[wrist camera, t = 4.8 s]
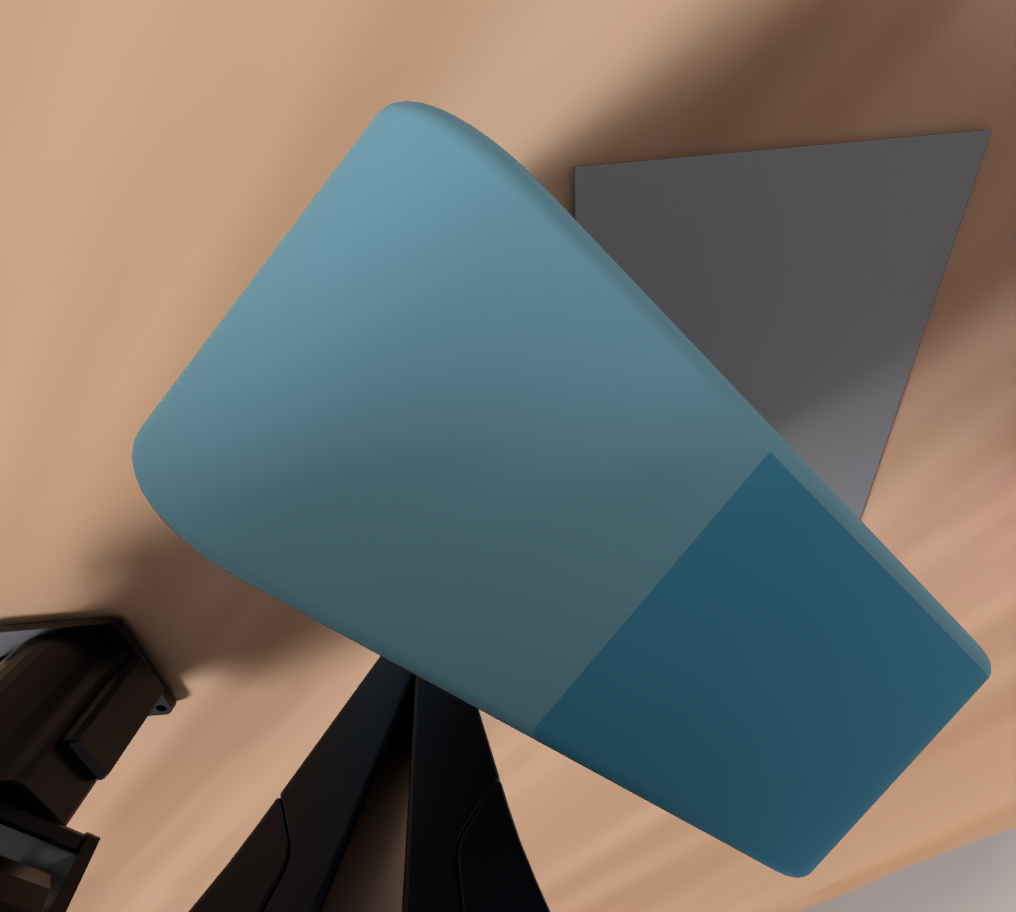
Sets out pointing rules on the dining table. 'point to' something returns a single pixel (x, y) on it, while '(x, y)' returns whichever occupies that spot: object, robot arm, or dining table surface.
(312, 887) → the robot arm
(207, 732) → the dining table surface
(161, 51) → the dining table surface
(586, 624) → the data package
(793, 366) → the felt mat
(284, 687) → the dining table surface
